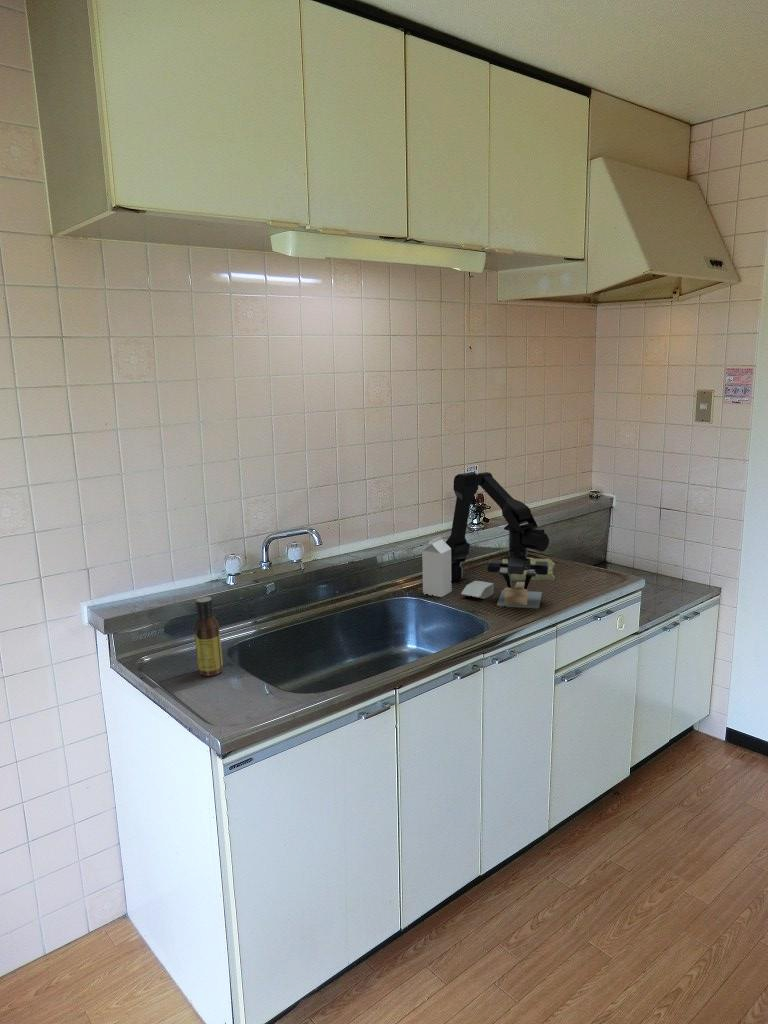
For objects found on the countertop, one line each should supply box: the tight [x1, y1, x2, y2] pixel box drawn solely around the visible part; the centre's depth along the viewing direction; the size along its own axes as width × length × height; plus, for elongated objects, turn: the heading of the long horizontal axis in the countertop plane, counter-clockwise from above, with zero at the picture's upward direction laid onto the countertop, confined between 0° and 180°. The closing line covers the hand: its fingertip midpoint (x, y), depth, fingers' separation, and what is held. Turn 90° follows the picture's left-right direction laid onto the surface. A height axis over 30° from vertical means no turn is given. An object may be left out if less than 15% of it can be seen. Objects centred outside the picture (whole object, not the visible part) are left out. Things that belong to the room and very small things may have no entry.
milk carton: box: [421, 535, 453, 598], centre depth 243 cm, size 7×7×19 cm
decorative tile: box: [501, 557, 556, 581], centre depth 266 cm, size 19×20×4 cm
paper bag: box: [460, 580, 495, 600], centre depth 241 cm, size 4×7×10 cm
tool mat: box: [496, 589, 543, 610], centre depth 236 cm, size 13×15×1 cm
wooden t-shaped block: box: [504, 581, 528, 605], centre depth 235 cm, size 7×11×5 cm, turn 161°
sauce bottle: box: [193, 596, 224, 677], centre depth 185 cm, size 7×6×20 cm
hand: (517, 592), depth 234 cm, fingers open, 4 cm apart
